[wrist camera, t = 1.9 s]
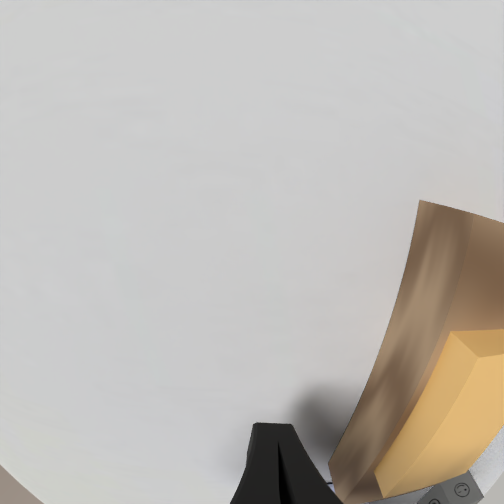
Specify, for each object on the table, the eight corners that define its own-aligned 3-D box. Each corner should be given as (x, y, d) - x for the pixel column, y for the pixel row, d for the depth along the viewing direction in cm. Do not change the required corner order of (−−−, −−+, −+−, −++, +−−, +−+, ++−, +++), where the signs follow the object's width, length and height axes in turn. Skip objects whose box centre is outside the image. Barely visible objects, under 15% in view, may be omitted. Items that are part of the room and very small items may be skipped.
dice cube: (468, 469, 20) (484, 497, 15) (446, 491, 21) (459, 518, 16) (438, 480, 20) (453, 511, 15) (416, 502, 21) (428, 531, 16)
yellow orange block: (452, 452, 12) (465, 472, 10) (373, 471, 12) (383, 498, 10) (524, 327, 10) (548, 345, 8) (450, 331, 9) (478, 357, 8)
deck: (427, 448, 17) (445, 481, 13) (328, 463, 17) (338, 506, 13) (522, 230, 13) (567, 247, 9) (419, 200, 12) (474, 213, 8)
